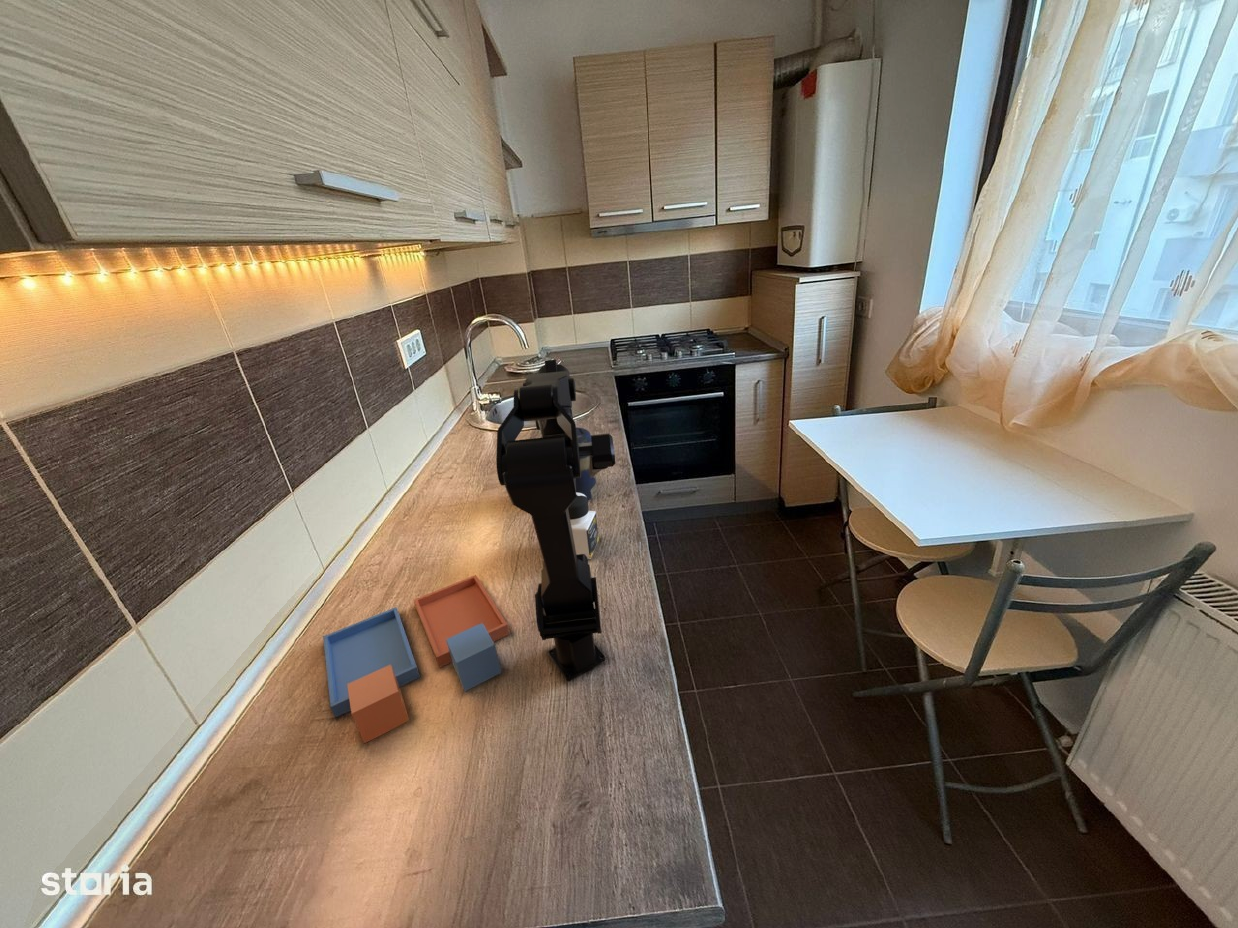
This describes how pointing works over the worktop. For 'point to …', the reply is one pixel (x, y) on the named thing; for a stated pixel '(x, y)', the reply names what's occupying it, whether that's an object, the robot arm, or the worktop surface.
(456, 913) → the worktop surface
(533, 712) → the worktop surface
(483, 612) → the terracotta tray
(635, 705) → the worktop surface
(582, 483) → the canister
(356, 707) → the terracotta block
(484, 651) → the blue block
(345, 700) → the blue tray
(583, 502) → the medicine bottle
